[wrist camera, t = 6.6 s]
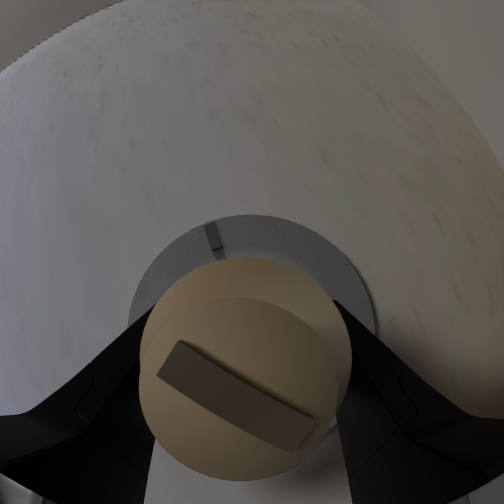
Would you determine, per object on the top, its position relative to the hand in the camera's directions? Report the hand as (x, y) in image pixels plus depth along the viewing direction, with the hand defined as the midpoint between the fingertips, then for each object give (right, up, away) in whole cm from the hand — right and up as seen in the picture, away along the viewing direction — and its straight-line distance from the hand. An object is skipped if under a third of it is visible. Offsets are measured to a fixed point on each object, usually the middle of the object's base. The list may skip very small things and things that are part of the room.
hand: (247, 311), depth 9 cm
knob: (0, -3, +6) cm, 7 cm away
